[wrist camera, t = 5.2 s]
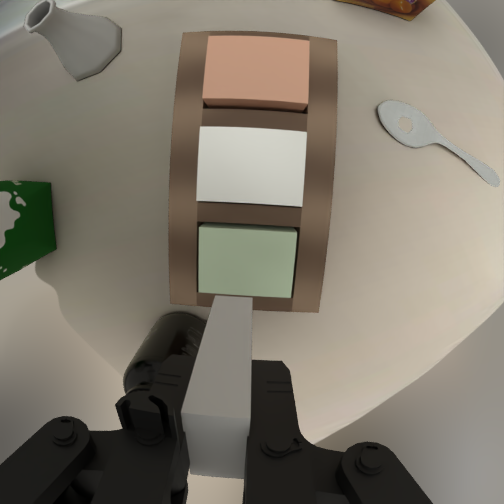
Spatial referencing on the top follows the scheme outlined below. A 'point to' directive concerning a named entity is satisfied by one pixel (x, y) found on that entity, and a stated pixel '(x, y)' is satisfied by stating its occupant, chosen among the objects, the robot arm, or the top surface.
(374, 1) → the candy box
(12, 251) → the milk carton
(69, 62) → the flask
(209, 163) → the white rectangular block
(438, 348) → the top surface
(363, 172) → the top surface
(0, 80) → the top surface
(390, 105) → the spoon
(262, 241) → the sage key
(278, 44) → the terracotta key
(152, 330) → the supplement bottle
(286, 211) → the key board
